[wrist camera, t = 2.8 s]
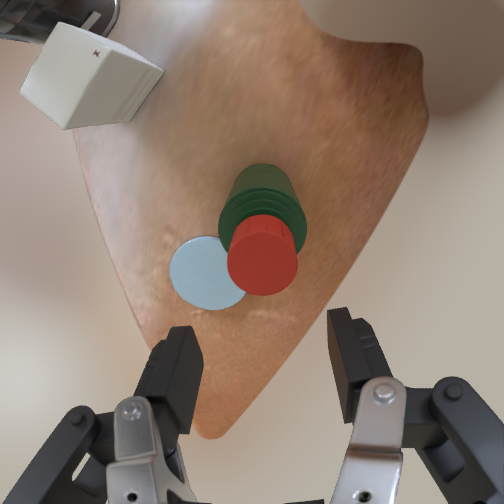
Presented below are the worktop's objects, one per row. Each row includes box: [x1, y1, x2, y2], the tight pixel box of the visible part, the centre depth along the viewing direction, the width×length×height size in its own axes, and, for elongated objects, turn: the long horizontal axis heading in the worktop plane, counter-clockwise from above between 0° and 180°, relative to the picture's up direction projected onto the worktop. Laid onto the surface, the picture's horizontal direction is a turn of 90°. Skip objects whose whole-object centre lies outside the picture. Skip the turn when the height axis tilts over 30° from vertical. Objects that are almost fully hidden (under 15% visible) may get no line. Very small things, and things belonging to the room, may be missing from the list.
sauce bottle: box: [218, 164, 307, 255], centre depth 24 cm, size 6×6×17 cm
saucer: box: [170, 236, 246, 310], centre depth 36 cm, size 10×10×1 cm
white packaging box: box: [20, 22, 165, 130], centre depth 21 cm, size 7×7×13 cm
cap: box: [227, 214, 298, 296], centre depth 18 cm, size 4×4×3 cm
